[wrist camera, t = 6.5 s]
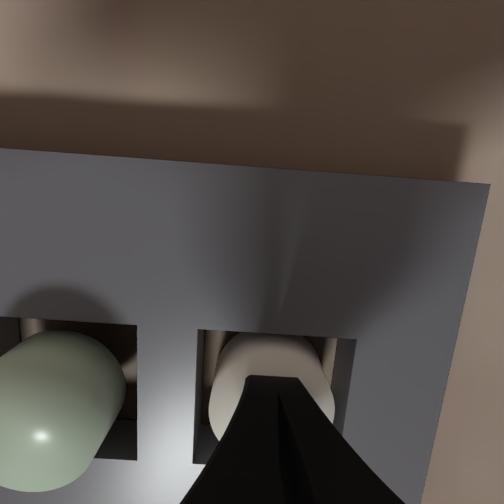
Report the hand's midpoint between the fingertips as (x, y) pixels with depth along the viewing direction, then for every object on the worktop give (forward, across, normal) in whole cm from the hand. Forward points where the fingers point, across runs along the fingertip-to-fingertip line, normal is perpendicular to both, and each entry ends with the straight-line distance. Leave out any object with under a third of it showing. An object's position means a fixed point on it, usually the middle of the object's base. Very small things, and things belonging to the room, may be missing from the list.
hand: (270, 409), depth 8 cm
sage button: (+1, +6, 0) cm, 6 cm away
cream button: (+2, 0, 0) cm, 2 cm away
